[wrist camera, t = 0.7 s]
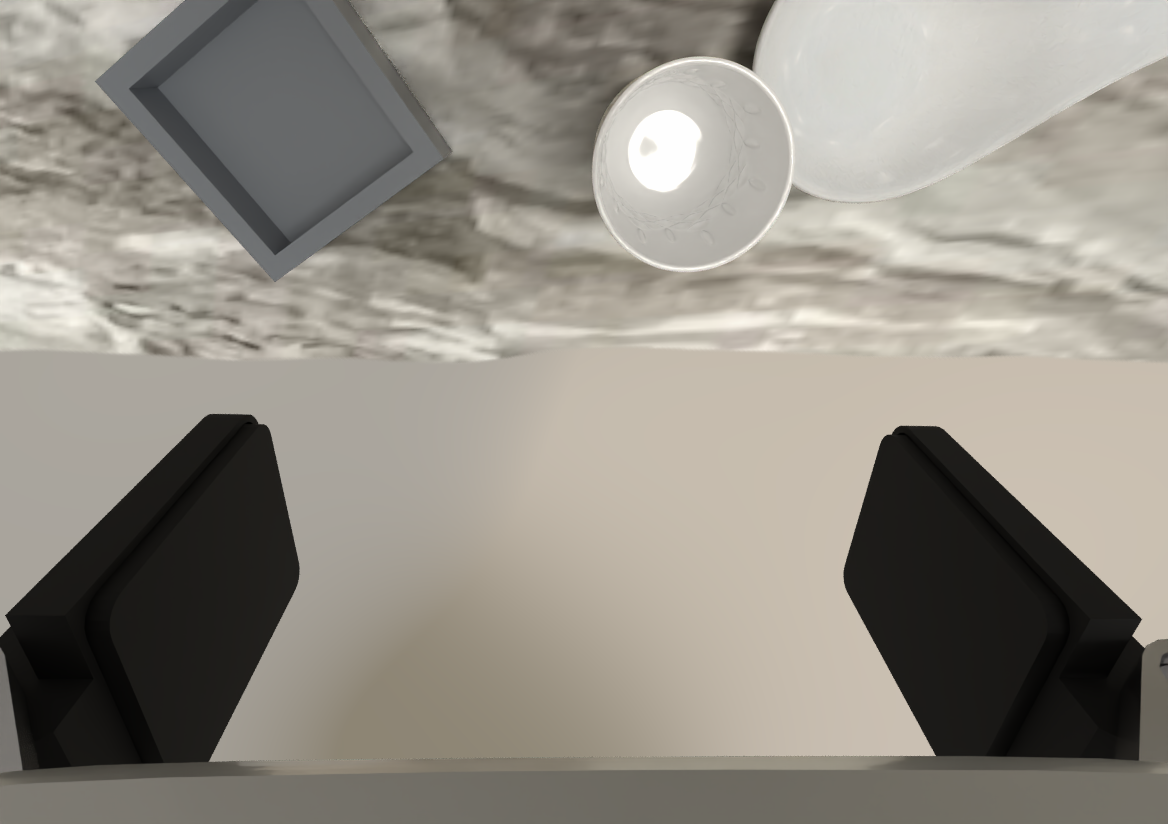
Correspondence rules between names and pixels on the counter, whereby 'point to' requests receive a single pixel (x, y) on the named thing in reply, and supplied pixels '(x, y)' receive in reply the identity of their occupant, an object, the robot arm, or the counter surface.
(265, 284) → the counter surface
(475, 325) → the counter surface
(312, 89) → the tray
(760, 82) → the white cup
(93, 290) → the counter surface
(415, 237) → the counter surface
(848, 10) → the spoon rest
